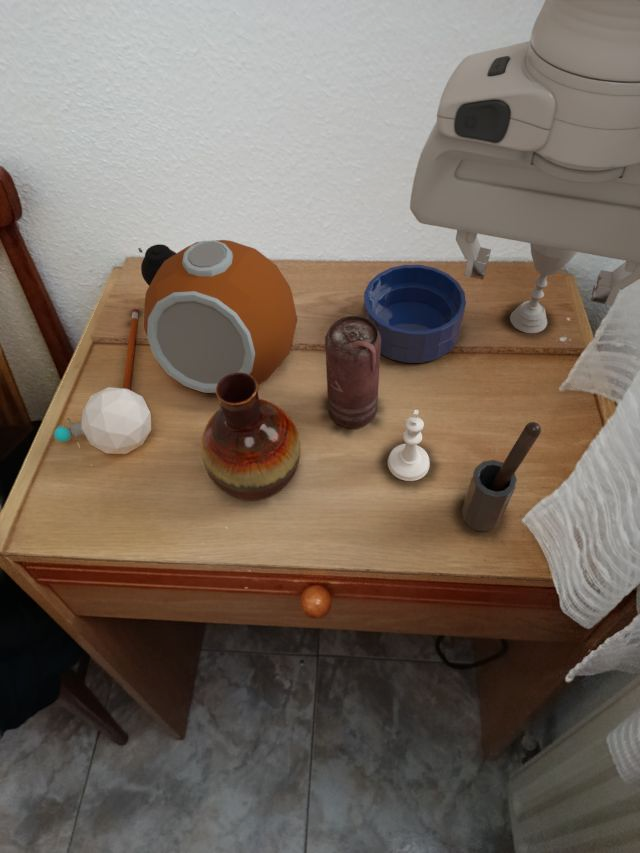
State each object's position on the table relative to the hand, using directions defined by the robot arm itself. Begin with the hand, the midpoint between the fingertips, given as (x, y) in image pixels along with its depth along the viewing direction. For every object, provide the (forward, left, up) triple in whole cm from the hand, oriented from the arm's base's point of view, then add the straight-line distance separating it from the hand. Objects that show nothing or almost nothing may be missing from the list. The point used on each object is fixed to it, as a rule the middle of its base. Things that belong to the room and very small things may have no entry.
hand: (536, 285), depth 46 cm
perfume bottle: (+43, +9, -29) cm, 53 cm away
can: (+16, -5, -29) cm, 34 cm away
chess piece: (+8, +1, -29) cm, 30 cm away
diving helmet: (+35, -8, -29) cm, 46 cm away
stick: (-2, +5, -28) cm, 29 cm away
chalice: (-2, -28, -29) cm, 40 cm away
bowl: (+13, -21, -29) cm, 38 cm away
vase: (+24, +7, -29) cm, 39 cm away
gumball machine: (+47, -15, -29) cm, 57 cm away
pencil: (+48, -3, -29) cm, 56 cm away
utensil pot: (-2, +4, -29) cm, 29 cm away
